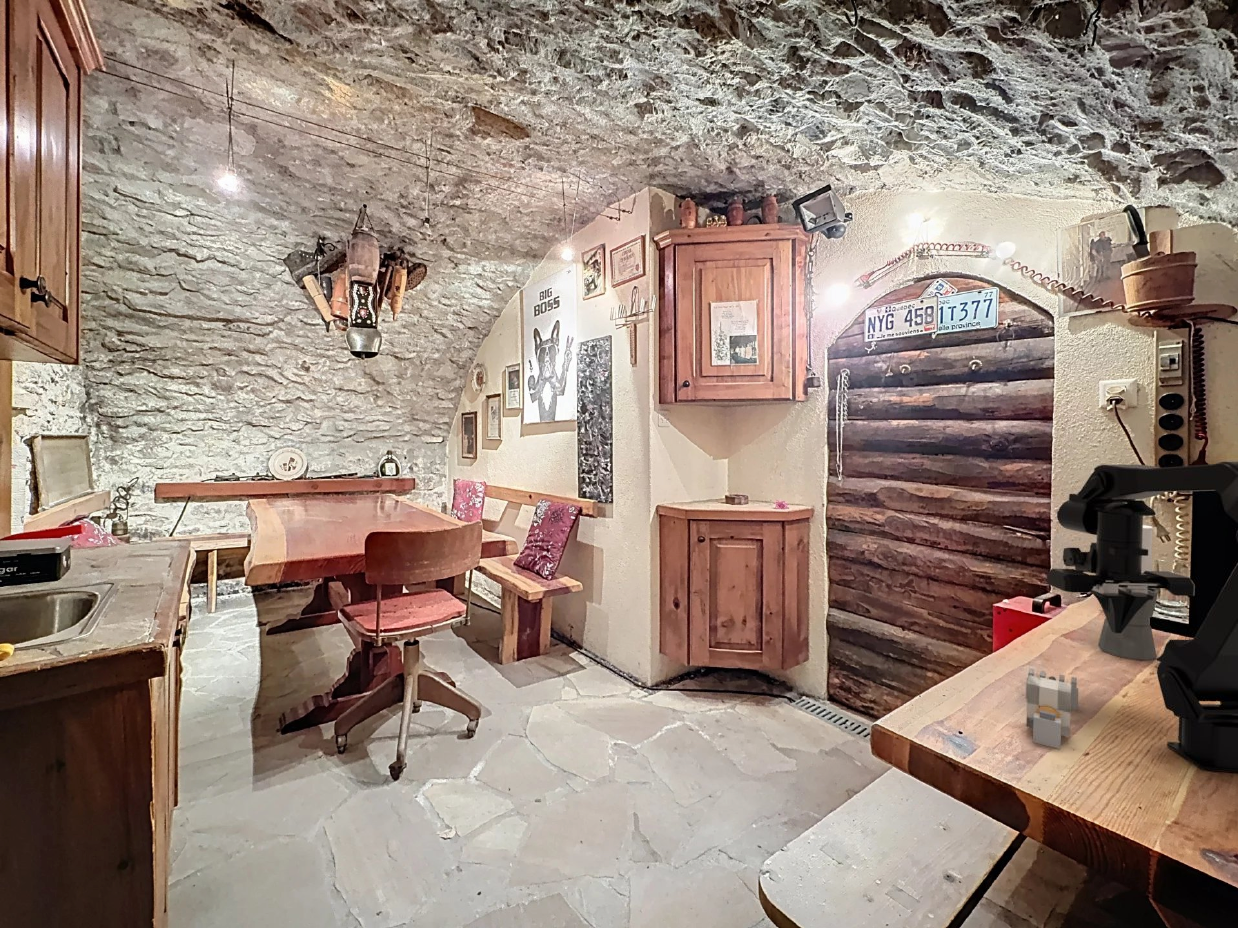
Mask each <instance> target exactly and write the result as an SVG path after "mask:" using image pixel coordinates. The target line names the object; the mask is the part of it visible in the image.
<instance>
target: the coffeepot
mask: <svg viewBox="0 0 1238 928" xmlns="http://www.w3.org/2000/svg"><path fill="white" fill-rule="evenodd" d="M1106 582H1113V581H1106ZM1147 590H1148V593H1147V594H1148V595H1151V596H1154V599H1153V600H1148V601H1147V602H1146V603H1145V604H1144V605H1143V606H1142V607H1141V608H1140V609H1139V610H1138V612H1137V613H1136V614H1135V615H1134V617H1133V618H1132V619H1131V621H1130V622H1129V623H1128V625H1127V626H1126V627H1125V629H1124V630H1123V631H1122V633H1114V632H1112V631H1111V629H1110V626H1109V624H1108V621H1107V619H1106V618H1104V620H1103V624H1102V628H1101V632H1100V635H1099V636H1100V637H1099V638H1098V640H1099V641H1098V644H1097V646H1098V647H1099V649H1100V650H1101V651H1102V652H1104V653H1106V654H1109V655H1112V656H1115V657H1119V658H1123V659H1126V660H1127V659H1128V660H1134V661H1152V660H1154V659H1157V658H1158V656H1157V650H1156V645H1155V641H1154V634H1153V630H1152V626H1151V625H1150V623H1149V617H1150V618H1153V616H1154V611H1155V607H1156V605H1157V604H1156V603H1157V599H1158V595H1159V591H1160V588H1147Z"/></svg>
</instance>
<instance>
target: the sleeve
mask: <svg viewBox="0 0 1238 928" xmlns="http://www.w3.org/2000/svg"><path fill="white" fill-rule="evenodd" d="M1041 706H1049V707H1051V708H1053V709H1055V710H1056V711H1057V712H1058V714H1059V717H1060V719H1061V737H1062V736H1063V737H1067V738H1070V736H1071V709H1070V708H1071V682H1070V683H1068V682H1060V681H1059V680H1056V681H1055V680H1050V679H1049V678H1047V677H1046V678H1041V677H1040V676H1036V675H1034V676H1031V675H1029V679H1028V683H1027V699H1026V722H1025V723H1026V725H1025V727H1027V728H1031V729H1033V721H1034V712H1035V713H1036V711H1037V709H1038V708H1039V707H1041Z"/></svg>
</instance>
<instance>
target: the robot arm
mask: <svg viewBox="0 0 1238 928" xmlns="http://www.w3.org/2000/svg"><path fill="white" fill-rule="evenodd" d="M1201 491H1202V492H1207V491H1208V492H1209V491H1213V492H1214V491H1215V492H1216V493H1218V494H1219V495H1220V498H1221V502H1222V506H1223V509H1224V512H1225V513H1226V514H1227V515H1229V517H1230V518H1232V520H1233V521H1235V522H1236V524H1238V461H1221V462H1220V461H1219V462H1217V463H1212V464H1210V463H1209V464H1197V465H1195V464H1194V465H1182V466H1170V467H1169V466H1167V467H1158V466H1153V465H1147V464H1146V465H1145V464H1099V465H1096V466H1095V467H1094V469H1093V472H1092V473H1091V474H1090V475H1089V477H1088V478H1087V480H1086V481H1085V483H1084V485H1083V486H1082V488H1081V489H1080V490H1079V492H1078V493H1069V495H1068V500H1066V501H1065V502H1063V503H1062V504H1061V506H1060V507H1059V508H1058V510H1057V512H1056V518H1057V521H1058V523H1059V524H1060V525H1061V527H1063V528H1064V529H1066V530H1069V531H1075V532H1079V533H1084V534H1089V535H1093V536H1096V542H1091V543H1090V545H1089V551H1081V548H1079V547H1065V548H1063V552H1062V553H1063V554H1062V560H1063V564H1064V566H1066V567H1074V568H1051V569H1050V570H1049V571H1048V573H1046V584H1047V585H1049V586H1052V587H1054V588H1056V589H1059V590H1061V591H1063V592H1067V593H1079V594H1081V593H1083V594H1086V593H1087V594H1088V593H1091V594H1092V595H1093V596H1094V597H1095V598H1096V600H1097V601H1098V603H1099V605H1100V607H1101V610H1102V611H1103V614H1104V617H1105V619H1107V621H1108V624H1109V626H1110V629H1111V631H1112V632H1114V633H1122V631H1123V630H1124V629H1125V627H1126V626H1127V625H1128V623H1129V622H1130V621H1131V619H1132V618H1133V617H1134V615H1135V614H1136V613H1137V612H1138V610H1139V609H1140V608H1141V607H1142V606H1143V605H1144V604H1145V603H1146V602H1147V601H1148V600H1153V599H1154V596H1151V595H1148V594H1147V593H1148V590H1147V588H1159V589H1166V590H1167V591H1168V592H1169V594H1171V595H1172V596H1178V597H1180V596H1181V597H1194V596H1195V591H1196V590H1195V589H1196V585H1195V583H1194V581H1193V580H1192V579H1191V578H1190V577H1187V576H1184V575H1182V574H1178V573H1174V572H1171V571H1166V570H1165V571H1163V570H1158V571H1157V570H1151V571H1145V572H1144V573H1141V569H1142V556H1148V549H1144V548H1142V536H1143V525H1144V517H1155V516H1156V514H1157V512H1156V511H1155V510H1154V509H1153V508H1151V507H1150V506H1149V505H1147V503H1146V502H1145V501H1144V500H1143V499H1148V498H1152V497H1158V496H1159V495H1161V494H1164V493H1168V492H1170V493H1171V492H1172V493H1173V492H1201ZM1235 539H1236V541H1237V543H1238V530H1237V532H1236V535H1235ZM1089 573H1090V574H1089ZM1106 581H1113V582H1106ZM1206 615H1207V616H1206V617H1205V619H1203V620H1204V621H1203V622H1202V624H1201V626H1200V628H1199V629H1198V631H1197V633H1196V634H1195V636H1194V637H1193V638H1192V639H1169V640H1168V641H1167V642H1166V644H1165V645H1164V649H1163V652H1162V653H1161V655H1160V656H1157V658H1155V659H1156V661H1157V662H1159V663H1158V664H1157V665H1158V666H1157V669H1156V675H1157V680H1158V683H1159V687H1160V691H1161V695H1162V698H1163V703H1164V705H1165V706H1164V707H1165V709H1166V710H1168V711H1170V712H1172V713H1173V715H1174V716H1175V717H1177V718H1178V731H1177V735H1178V737H1177V740H1178V742H1175V741H1167V742H1166V746H1167V747H1169V748H1170V749H1171V750H1173V751H1174V752H1176V753H1178V754H1179V755H1181V756H1182V757H1183V758H1185V759H1186V760H1187V761H1189V762H1190V763H1192V764H1193V765H1195V766H1197V767H1198V768H1200V769H1202V770H1203V771H1204V770H1205V771H1213V772H1214V771H1215V772H1230V773H1238V562H1237V564H1236V566H1235V567H1234V569H1233V570H1232V571H1231V574H1230V576H1229V577H1228V579H1227V581H1226V583H1225V585H1224V586H1223V588H1222V589H1221V591H1220V593H1219V595H1218V596H1217V598H1216V600H1215V601H1214V603H1213V605H1212V606H1211V608H1210V610H1209V612H1208V613H1207V614H1206ZM1200 702H1219V703H1217V704H1215V703H1214V704H1213V703H1211V704H1210V703H1209V704H1208V703H1205V704H1203V703H1200Z"/></svg>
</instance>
